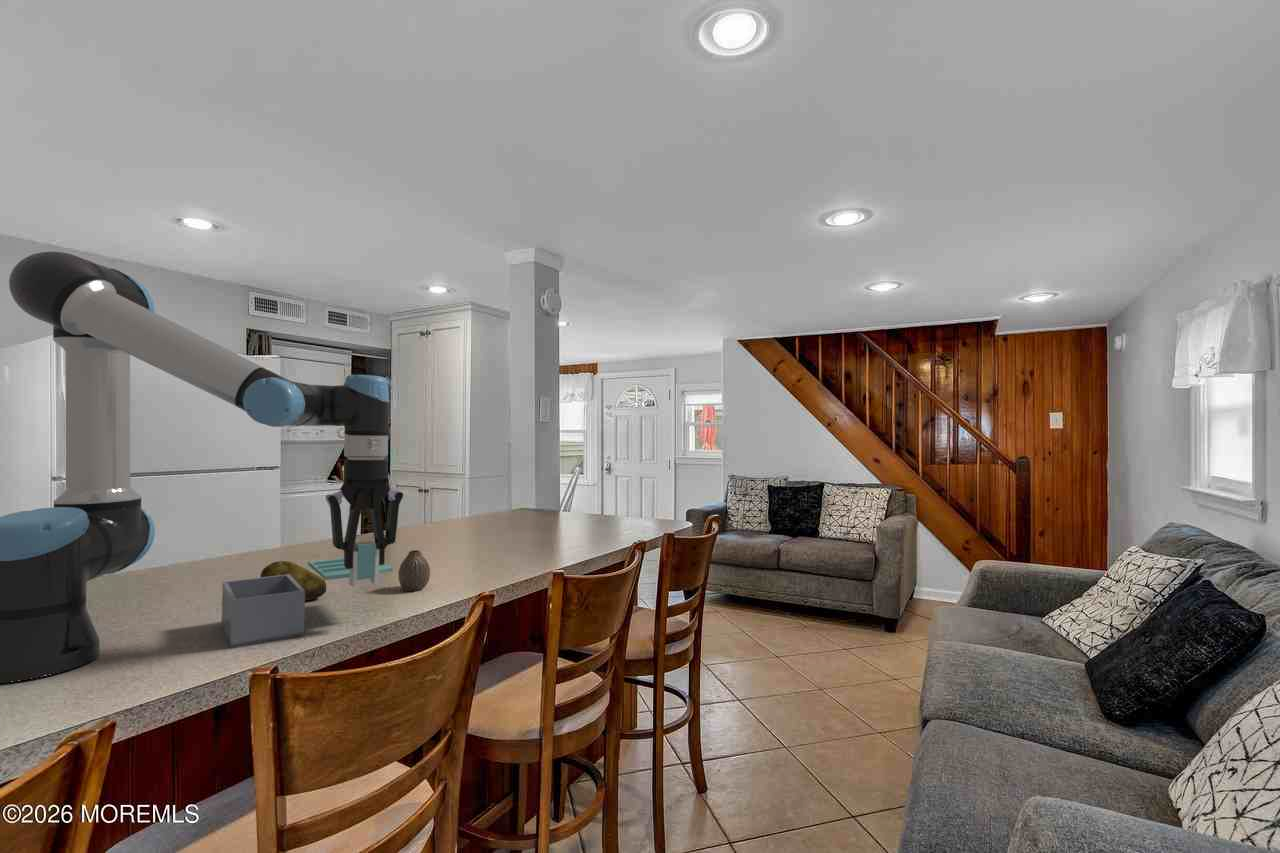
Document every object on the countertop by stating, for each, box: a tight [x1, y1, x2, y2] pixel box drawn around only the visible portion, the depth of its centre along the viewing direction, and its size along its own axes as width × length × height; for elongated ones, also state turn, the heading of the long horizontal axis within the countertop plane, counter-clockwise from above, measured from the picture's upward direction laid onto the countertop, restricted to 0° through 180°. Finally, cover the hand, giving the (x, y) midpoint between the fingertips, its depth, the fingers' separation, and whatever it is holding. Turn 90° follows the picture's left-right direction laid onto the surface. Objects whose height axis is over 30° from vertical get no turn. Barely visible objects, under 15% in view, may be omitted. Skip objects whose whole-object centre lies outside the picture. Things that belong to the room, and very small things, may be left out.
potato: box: [260, 560, 327, 602], centre depth 133 cm, size 8×13×8 cm, turn 71°
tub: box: [221, 574, 306, 648], centre depth 113 cm, size 11×15×8 cm
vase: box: [397, 549, 431, 592], centre depth 143 cm, size 7×7×9 cm
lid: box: [307, 541, 394, 581], centre depth 122 cm, size 12×20×7 cm, turn 39°
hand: (364, 583), depth 116 cm, fingers closed on lid, 3 cm apart
